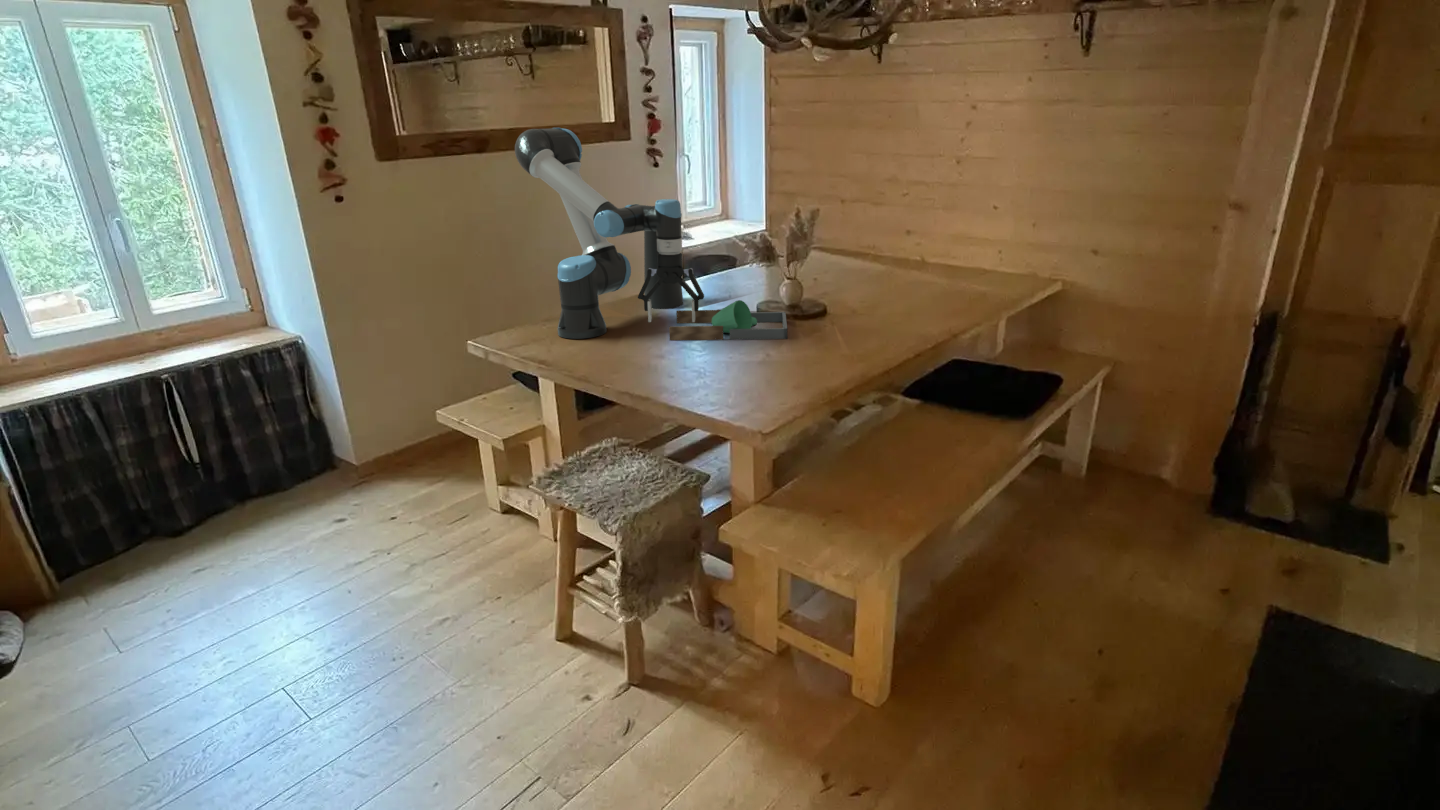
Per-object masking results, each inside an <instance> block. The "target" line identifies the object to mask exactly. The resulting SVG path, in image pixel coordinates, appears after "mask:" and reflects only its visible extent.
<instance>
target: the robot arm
mask: <svg viewBox="0 0 1440 810" xmlns="http://www.w3.org/2000/svg"><path fill="white" fill-rule="evenodd" d="M582 152H583V147H582V144H581V141H580V139H579V138H578V136H577V134H575V132H573V131H572V130H570V129H567V128H561V127H552V128H531V129H530V128H529V129H527V130H524V131H523V132H522V133H520V134H519V136H518V137H517V139H516V141H515V144H514V155H515V158H516V160H517V162H518V164H519V165H520V167H521V168H522V169H523V170H525V172H527V174H529V175H530V176H532V177H533V178H535V179H537V178H539V179H541V181H543V182H544V183H545V184H547V185H548V186H549V187H550V188H552V189H553V191H555V192H557V194H559V197H560V199H561V201H562V204H563V206H564V208H565V211H566V214H567V217H568V218H569V221H570V223H571V225H572V228H573V231H574V233H575V235H576V237H577V239H578V242H579V245H580V247H581V250H582V254H581V255H576V256H570V257H567V258H564V259H562V260H561V261H560V262H559V263H558V265H557V279H558V287H559V288H558V291H559V298H560V299H559V300H560V309H561V310H560V311H561V312H560V316H559V320H558V323H557V324H558V325H557V335H558V336H559V337H561V338H564V339H572V340H576V339H580V340H581V339H582V340H583V339H590V338H595V337H600V336H602V335H604V334H606V333H607V323H606V321H605V319H604V316H603V314H602V312H601V309H600V303H599V296H601V295H604V294H607V293H612V292H616V291H618V290H620V289H622V288H624V287H625V286H626V285H627V284H628V283H629V281H630V278H631V275H632V274H631V273H632V268H631V263H630V261H629V259H628V258H627V256H626V255H625V254H623V253H621V252H618V250H617V248H616V245H615V244H614V243H612V242H610V241H608V238H615V237H619V236H623V235H626V234H627V235H628V234H632V233H633V234H634V233H637V232H638V233H639V232H644V231H654V232H656V234H657V251H658V252H659V253H658V254H657V260H658V268H657V269H652V268H649V269H648V271H647V278H646V280H645V281H644V282H643V284H642V286H641V289H640V291H639V293H638V295H637V299H639V300H642V301H643V307H644V309H643V310H644V311H645V312H647V318H648V319H647V322H648V323H651V322H652V321H653V315H652V314H653V313H652V311H653V310H652V308H651V300H649V298H650V296H651V295H652V294H653V293H654V292H655V290H656V289H657V288H658V287H659V285H660V284H661V283H662V282H664V283H665V284H669V283H672V284H676V283H677V282H678V283H679V284H680V285H681V286H682V289H684V291H685V292H686V293H687V294H688V295H689V296H690V297H691V299H692V300H691V310H692V322H695V311H698V310H700V309H699V306H700V305H699V303H700V302H699V301H701V300H703V299H704V298H705V294H704V291H703V290H702V288H701V286H700V285H699V282H698V281H697V278H696V276H695V275H694V274H695V273H694V268H693V267H690V268H686V269H684V266H683V254H682V251H683V238H682V208H681V207H682V206H681V201H679V200H678V199H674V198H669V199H668V198H664V199H656V201H655V205H646V204H645V205H643V204H639V203H638V204H627V205H625V206H624V207H620V208H618V207H617V206H616V205H615V204H613V203H612V202H610V201H609V200H607V198H605V197H604V196H603V194H600V193H599V192H598V191H597V190H595V189H594V188H593V187H592V186H591V185H589V184H588V182H586V181H584V179H583V178H582V175H581V172H580V169H581V167H582V162H581V159H582V156H583V154H582ZM655 273H657V275H658V276H659V278H660V279H659V280H658V281H657V282H656V284H655V285H654V286H653V287H652V289H651V290H650V291H649V292H648V293H647V295H646V296H645V290H646V288H647V286H648V284H649V281H650V279H651V277H652V276H654V274H655ZM684 274H685V275H686V276H687V277H689V280H690V282H691V284H692V286H693V287H694V289H695V291H696V293H695V291H694V290H693V288H691V286H690V285H689V284H688V283H687V282H686V281H685V279H684V278H683V276H684ZM697 294H698V295H697Z"/></svg>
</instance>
